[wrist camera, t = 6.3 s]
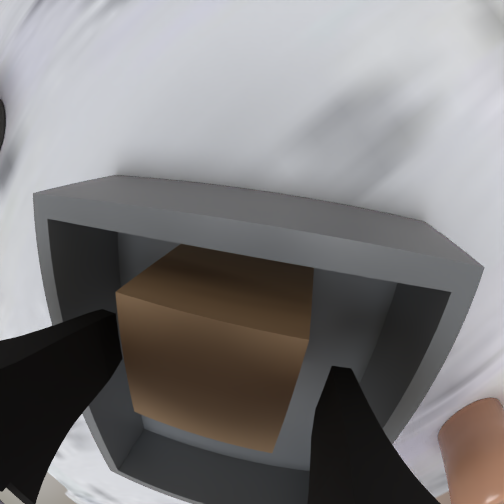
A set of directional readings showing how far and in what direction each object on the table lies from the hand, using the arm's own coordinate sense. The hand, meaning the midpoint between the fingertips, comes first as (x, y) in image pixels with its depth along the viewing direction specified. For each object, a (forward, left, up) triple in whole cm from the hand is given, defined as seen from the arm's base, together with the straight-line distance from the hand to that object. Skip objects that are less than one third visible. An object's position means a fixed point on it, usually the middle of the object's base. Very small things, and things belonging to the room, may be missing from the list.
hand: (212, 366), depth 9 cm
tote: (-4, 0, -5) cm, 6 cm away
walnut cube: (0, 0, -4) cm, 4 cm away
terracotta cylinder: (-7, -16, -5) cm, 18 cm away
